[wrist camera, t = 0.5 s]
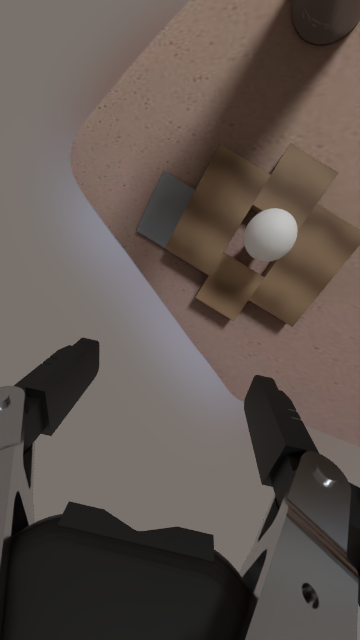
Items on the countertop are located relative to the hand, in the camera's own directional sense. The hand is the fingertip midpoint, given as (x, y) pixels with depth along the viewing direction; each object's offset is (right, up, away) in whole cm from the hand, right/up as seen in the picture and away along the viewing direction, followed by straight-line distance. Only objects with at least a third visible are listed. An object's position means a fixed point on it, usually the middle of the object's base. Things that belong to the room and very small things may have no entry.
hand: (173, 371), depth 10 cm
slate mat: (-1, +20, +23) cm, 31 cm away
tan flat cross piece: (+13, +15, +22) cm, 30 cm away
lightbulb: (+13, +15, +23) cm, 30 cm away
